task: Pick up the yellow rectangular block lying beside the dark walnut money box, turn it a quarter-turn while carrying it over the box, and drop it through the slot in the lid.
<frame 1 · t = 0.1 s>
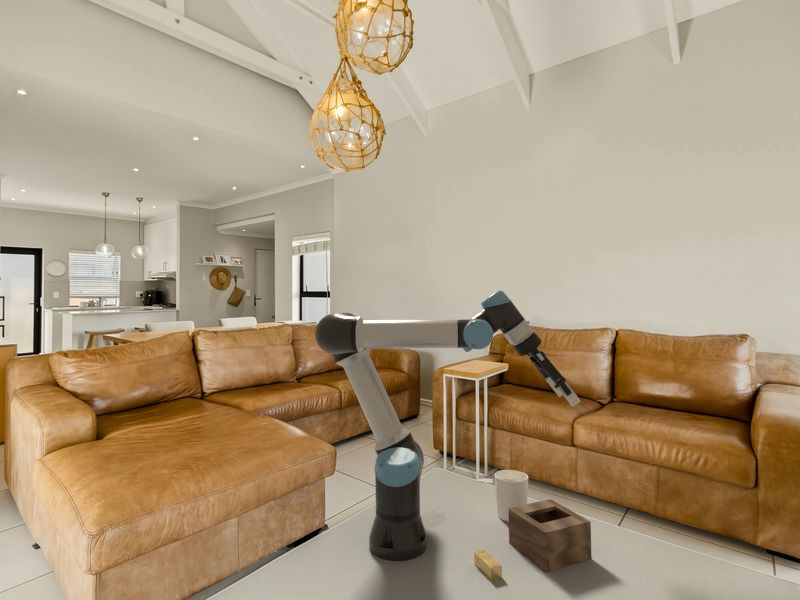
hand: (569, 399, 123), 36 cm above the table, tool tilted 35°, fingers open, 13 cm apart
yellow rectangular block: (487, 571, 102), on the table
money box: (548, 550, 110), on the table
candle holder: (512, 517, 128), on the table
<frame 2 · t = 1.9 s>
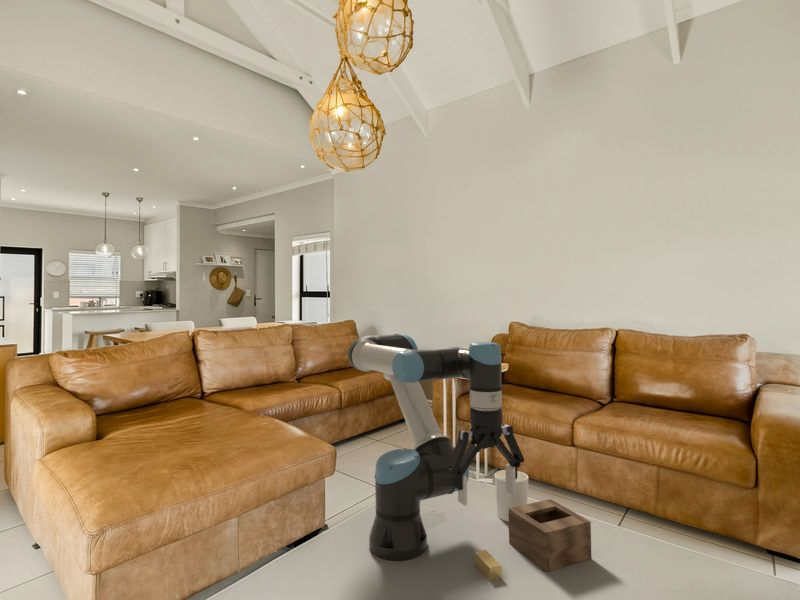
hand: (487, 498, 102), 17 cm above the table, tool pointing down, fingers open, 13 cm apart
nothing on the table moved.
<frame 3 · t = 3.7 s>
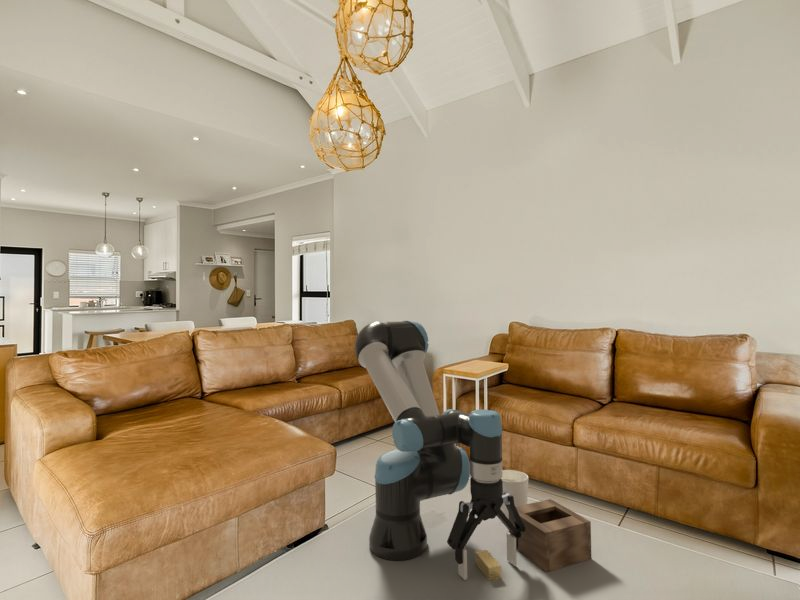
hand: (487, 569, 102), 0 cm above the table, tool pointing down, fingers open, 13 cm apart
nothing on the table moved.
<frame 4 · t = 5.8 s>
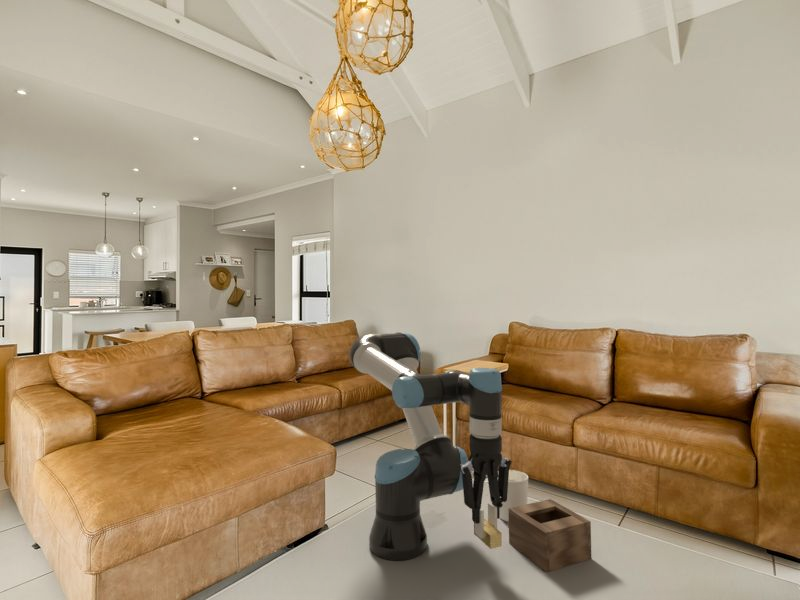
hand: (486, 533, 102), 8 cm above the table, tool pointing down, fingers closed on yellow rectangular block, 3 cm apart
yellow rectangular block: (487, 539, 102), point 7 cm above the table, touching gripper
everything else where it was.
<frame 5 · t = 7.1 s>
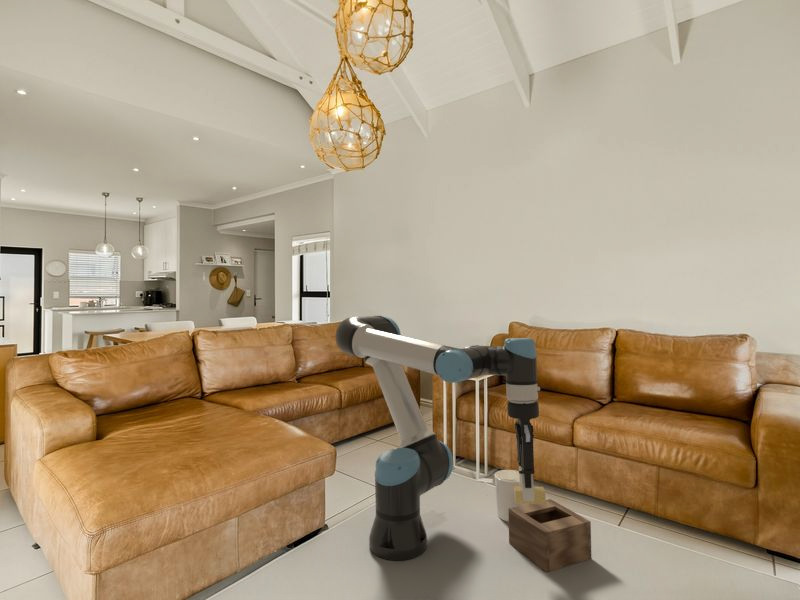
hand: (527, 496, 106), 15 cm above the table, tool pointing down, fingers closed on yellow rectangular block, 3 cm apart
yellow rectangular block: (529, 501, 106), point 14 cm above the table, touching gripper
everything else where it was.
when the fingers open (11 cm above the table, at t = 8.9 s): yellow rectangular block drops 9 cm, resting on money box.
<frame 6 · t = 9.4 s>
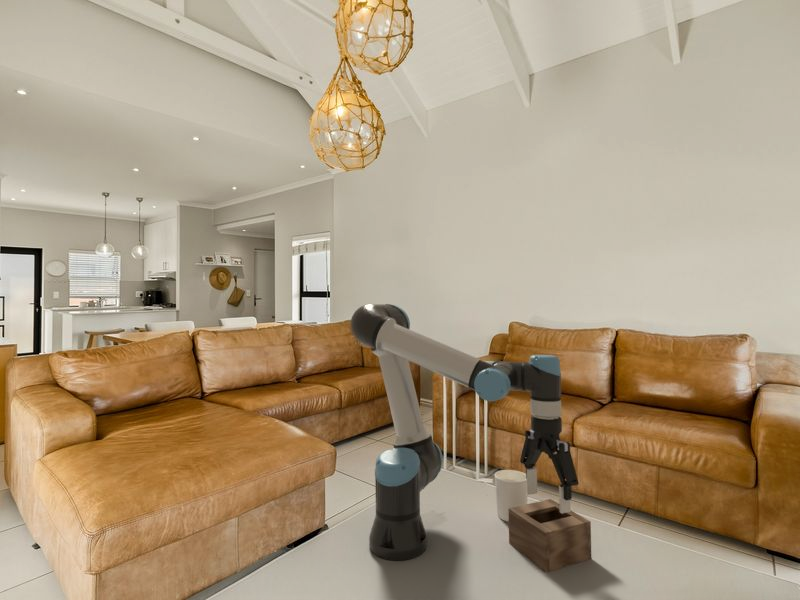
hand: (547, 502, 110), 12 cm above the table, tool pointing down, fingers open, 11 cm apart
yellow rectangular block: (550, 548, 110), resting on money box
everything else where it was.
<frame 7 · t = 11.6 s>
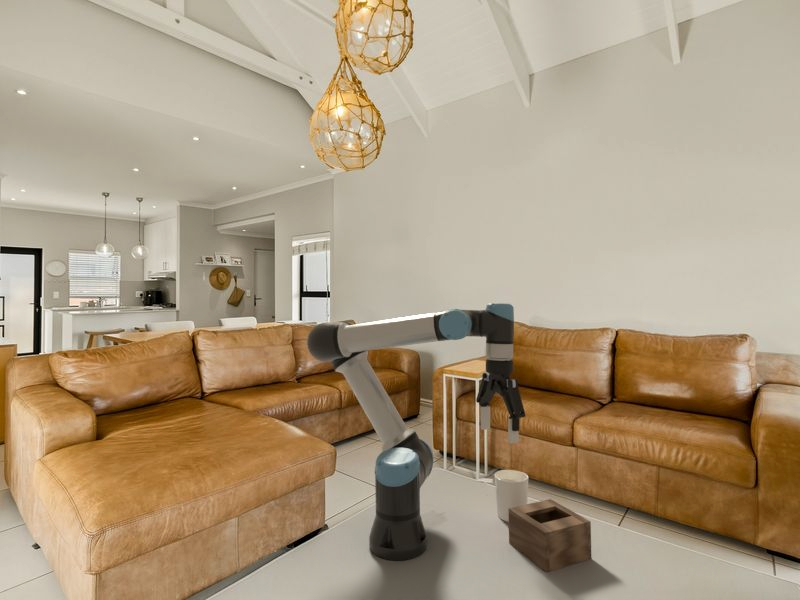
hand: (498, 435, 120), 26 cm above the table, tool pointing down, fingers open, 13 cm apart
nothing on the table moved.
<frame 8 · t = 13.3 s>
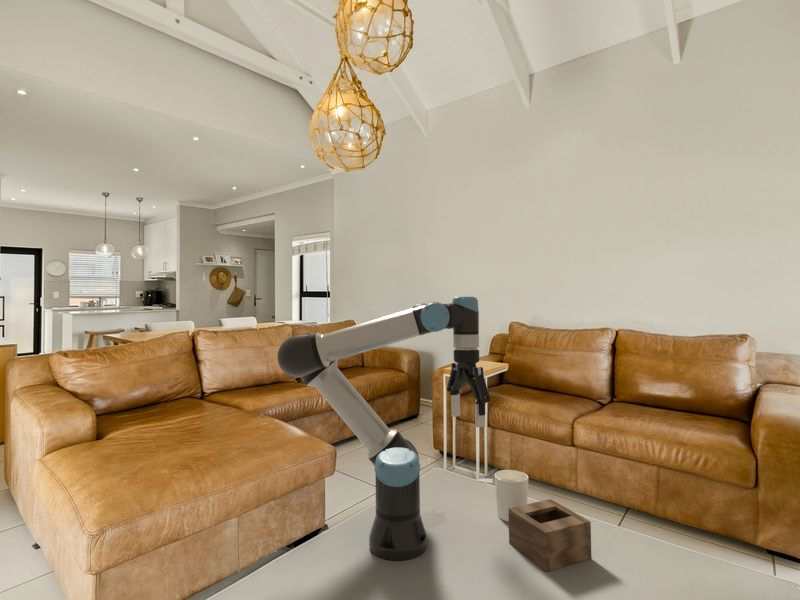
hand: (467, 421, 127), 29 cm above the table, tool pointing down, fingers open, 13 cm apart
nothing on the table moved.
at the end: yellow rectangular block inside the target area on the money box (0.5 cm from its centre), point 0.5 cm above the money box's base; the gripper is holding nothing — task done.
